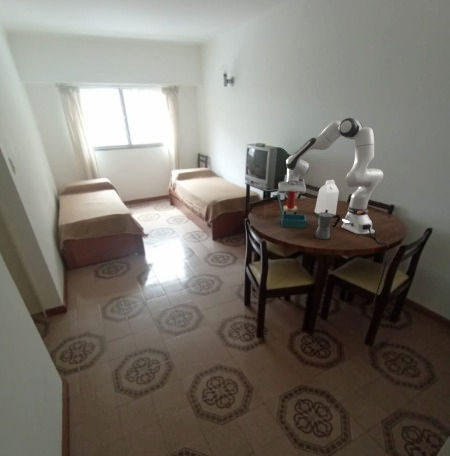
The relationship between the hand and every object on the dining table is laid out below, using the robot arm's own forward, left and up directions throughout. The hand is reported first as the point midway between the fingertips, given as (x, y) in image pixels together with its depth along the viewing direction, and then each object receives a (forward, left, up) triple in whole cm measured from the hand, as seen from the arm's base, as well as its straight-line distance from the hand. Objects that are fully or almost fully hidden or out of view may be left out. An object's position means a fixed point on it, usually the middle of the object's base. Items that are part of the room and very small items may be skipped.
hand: (291, 197), depth 206 cm
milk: (+3, -32, -16) cm, 36 cm away
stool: (0, 0, -16) cm, 16 cm away
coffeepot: (-41, -6, -16) cm, 44 cm away
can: (+1, 0, -8) cm, 8 cm away
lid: (-11, +13, -1) cm, 17 cm away
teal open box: (-15, +4, -16) cm, 22 cm away
